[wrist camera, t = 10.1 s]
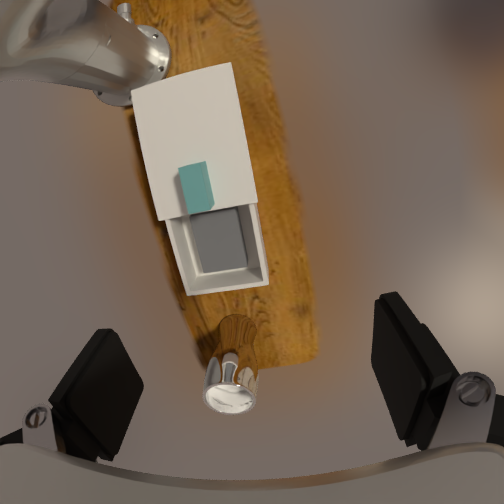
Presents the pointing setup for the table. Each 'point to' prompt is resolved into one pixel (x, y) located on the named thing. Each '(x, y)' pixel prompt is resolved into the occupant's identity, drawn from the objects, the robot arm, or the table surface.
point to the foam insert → (219, 239)
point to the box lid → (194, 142)
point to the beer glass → (233, 368)
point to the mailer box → (225, 279)
